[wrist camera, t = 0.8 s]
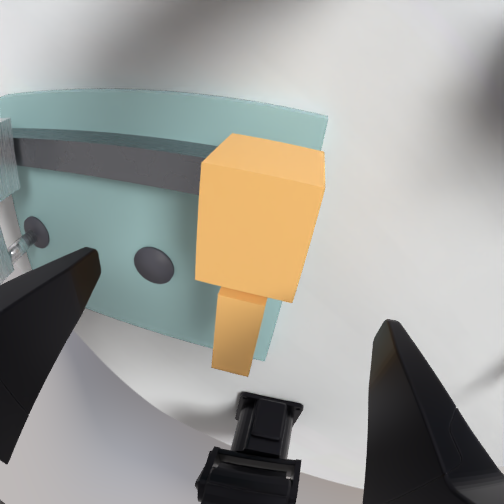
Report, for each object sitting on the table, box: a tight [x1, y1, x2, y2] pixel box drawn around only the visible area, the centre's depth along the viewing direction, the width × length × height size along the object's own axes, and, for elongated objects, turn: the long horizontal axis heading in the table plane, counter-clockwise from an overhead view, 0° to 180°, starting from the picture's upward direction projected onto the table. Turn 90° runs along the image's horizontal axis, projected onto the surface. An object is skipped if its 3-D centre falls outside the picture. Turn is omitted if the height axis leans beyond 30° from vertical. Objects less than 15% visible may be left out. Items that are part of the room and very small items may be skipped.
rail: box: [12, 128, 218, 195], centre depth 16 cm, size 2×22×2 cm, turn 82°
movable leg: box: [195, 133, 325, 377], centre depth 15 cm, size 11×4×6 cm, turn 173°
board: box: [0, 89, 328, 361], centre depth 21 cm, size 19×23×1 cm
